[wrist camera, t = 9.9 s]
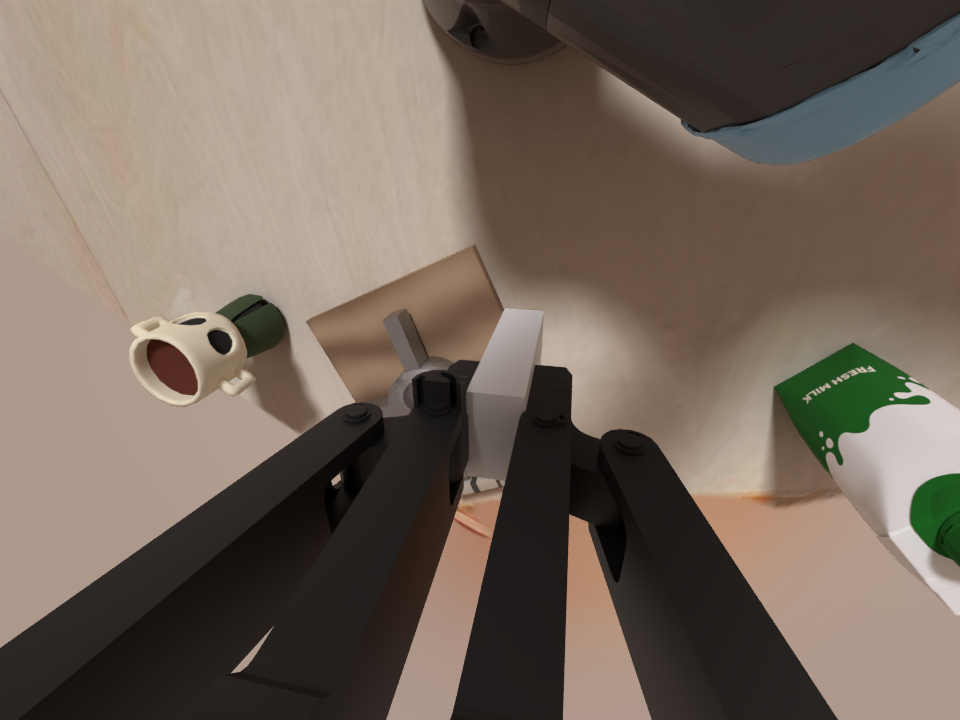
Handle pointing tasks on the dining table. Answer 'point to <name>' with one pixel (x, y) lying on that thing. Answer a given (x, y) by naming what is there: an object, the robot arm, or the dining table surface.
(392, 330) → the four-spoke handwheel
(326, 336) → the wooden mounting board
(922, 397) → the milk carton
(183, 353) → the character mug
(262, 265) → the dining table surface
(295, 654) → the robot arm
